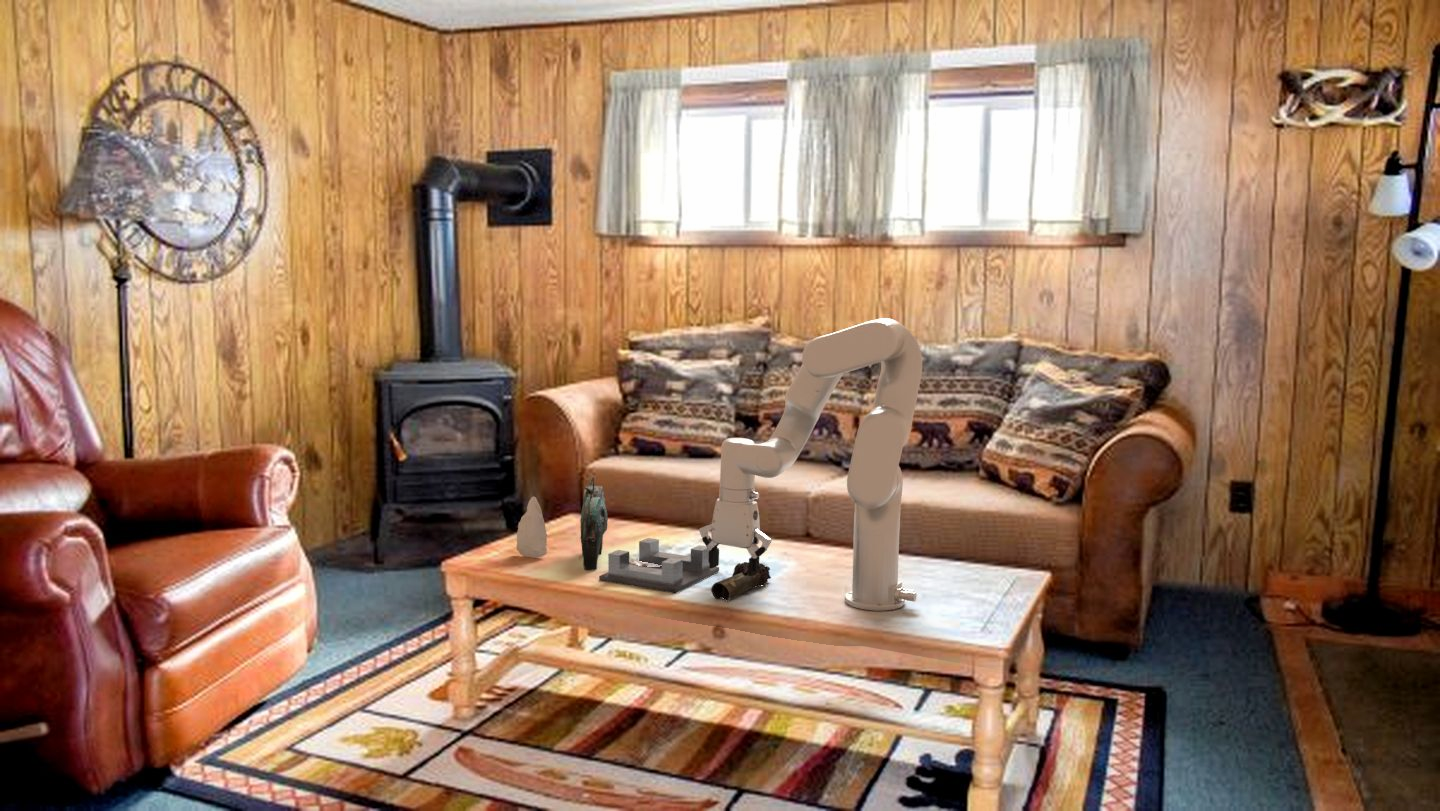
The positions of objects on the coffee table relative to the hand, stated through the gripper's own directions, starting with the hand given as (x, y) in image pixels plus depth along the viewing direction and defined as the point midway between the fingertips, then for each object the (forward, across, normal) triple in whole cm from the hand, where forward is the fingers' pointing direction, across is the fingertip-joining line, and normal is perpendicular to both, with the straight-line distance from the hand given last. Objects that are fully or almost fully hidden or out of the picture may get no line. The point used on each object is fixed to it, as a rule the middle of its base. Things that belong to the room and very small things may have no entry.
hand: (733, 570), depth 240 cm
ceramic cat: (+6, +40, -4) cm, 40 cm away
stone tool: (+6, +55, +1) cm, 55 cm away
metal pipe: (+5, -2, 0) cm, 5 cm away
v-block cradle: (+4, +19, 0) cm, 19 cm away
